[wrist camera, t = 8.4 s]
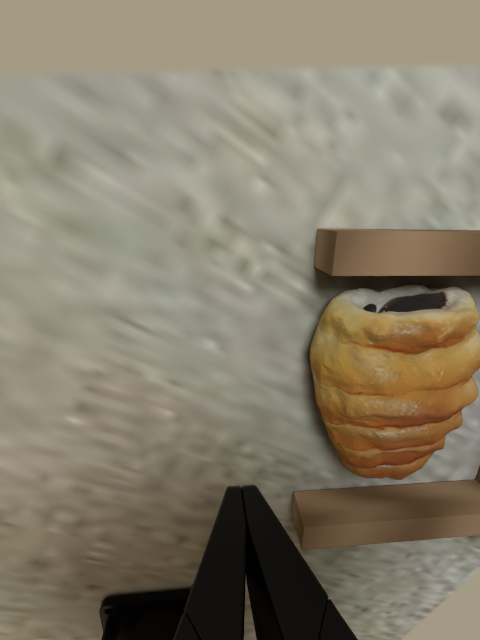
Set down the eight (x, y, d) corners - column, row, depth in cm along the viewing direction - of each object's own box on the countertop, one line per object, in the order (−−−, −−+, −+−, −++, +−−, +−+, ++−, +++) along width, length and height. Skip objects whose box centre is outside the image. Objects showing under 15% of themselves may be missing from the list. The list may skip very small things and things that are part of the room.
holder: (291, 512, 17) (322, 626, 12) (317, 228, 12) (385, 237, 7) (493, 498, 18) (592, 598, 13) (590, 231, 13) (800, 241, 9)
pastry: (429, 445, 17) (488, 509, 13) (305, 461, 16) (331, 531, 13) (452, 272, 14) (538, 294, 10) (300, 289, 13) (332, 317, 10)
